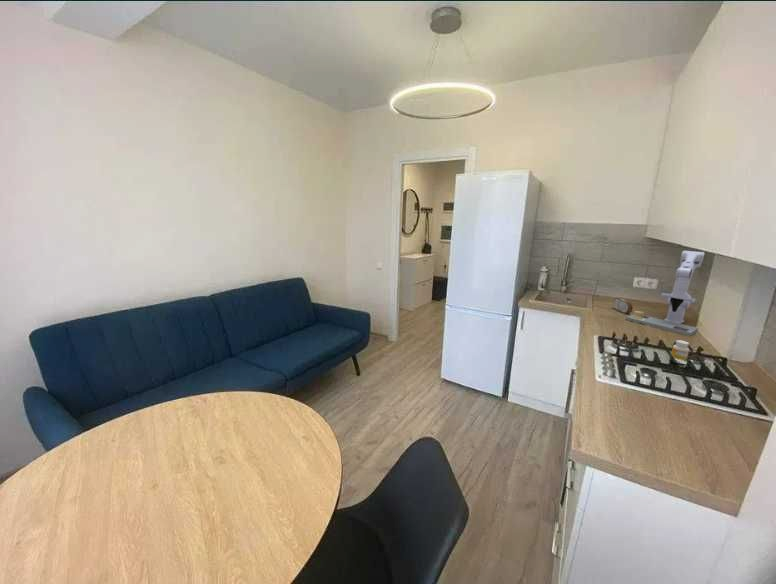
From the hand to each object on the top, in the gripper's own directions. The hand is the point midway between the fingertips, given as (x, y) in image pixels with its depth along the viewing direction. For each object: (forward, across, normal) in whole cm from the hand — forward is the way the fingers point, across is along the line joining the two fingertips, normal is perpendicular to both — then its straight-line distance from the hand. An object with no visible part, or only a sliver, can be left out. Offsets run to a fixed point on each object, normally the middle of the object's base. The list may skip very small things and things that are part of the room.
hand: (674, 311), depth 184 cm
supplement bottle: (+10, +17, -58) cm, 61 cm away
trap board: (+9, -4, -3) cm, 11 cm away
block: (+7, -14, -7) cm, 17 cm away
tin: (+10, -28, +9) cm, 31 cm away
